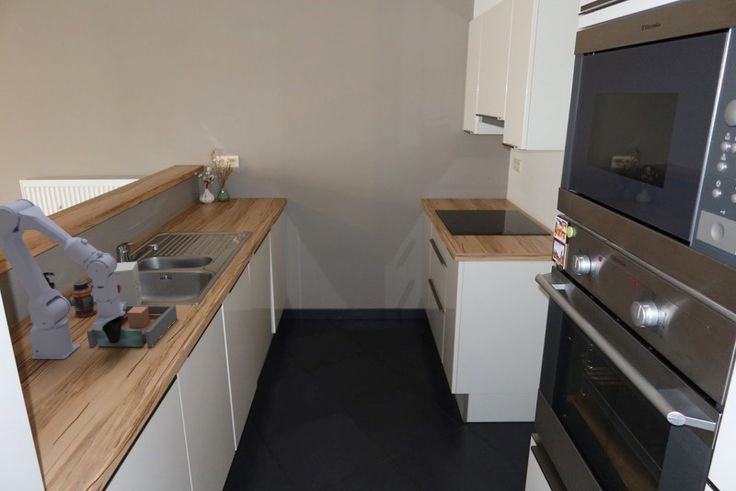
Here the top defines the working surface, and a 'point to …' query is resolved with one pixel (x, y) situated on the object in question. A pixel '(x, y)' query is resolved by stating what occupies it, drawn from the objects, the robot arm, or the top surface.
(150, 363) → the top surface
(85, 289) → the supplement bottle
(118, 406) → the top surface
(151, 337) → the organiser housing
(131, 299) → the supplement box
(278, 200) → the top surface
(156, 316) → the tray
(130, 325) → the terracotta block
